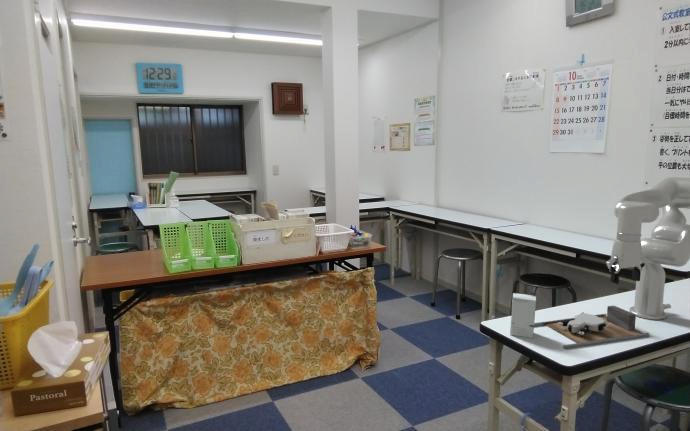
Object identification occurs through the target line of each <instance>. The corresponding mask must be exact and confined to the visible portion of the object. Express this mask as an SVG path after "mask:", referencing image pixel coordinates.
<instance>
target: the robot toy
mask: <svg viewBox="0 0 690 431" xmlns="http://www.w3.org/2000/svg"><path fill="white" fill-rule="evenodd" d="M594 315H595V314H594ZM594 315H593V314H590V313H584V311H582V312H581V313H578V314H577V315H575V316H574V318H575V320H572V321H570V322H569V321H562V322H558V324H559V325H561V326H567V330H568V331H572V332H573V333H576V334H580V335H585V334H586V332H587V330H590V331H595V332H598V331H601V330H604V329H606V327H608V326H609V325H611V324H612V323H610V324H609V325H607V326H606V322H605V321H604V320H603V319H602V318H600V317H598V316H594Z"/></svg>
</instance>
